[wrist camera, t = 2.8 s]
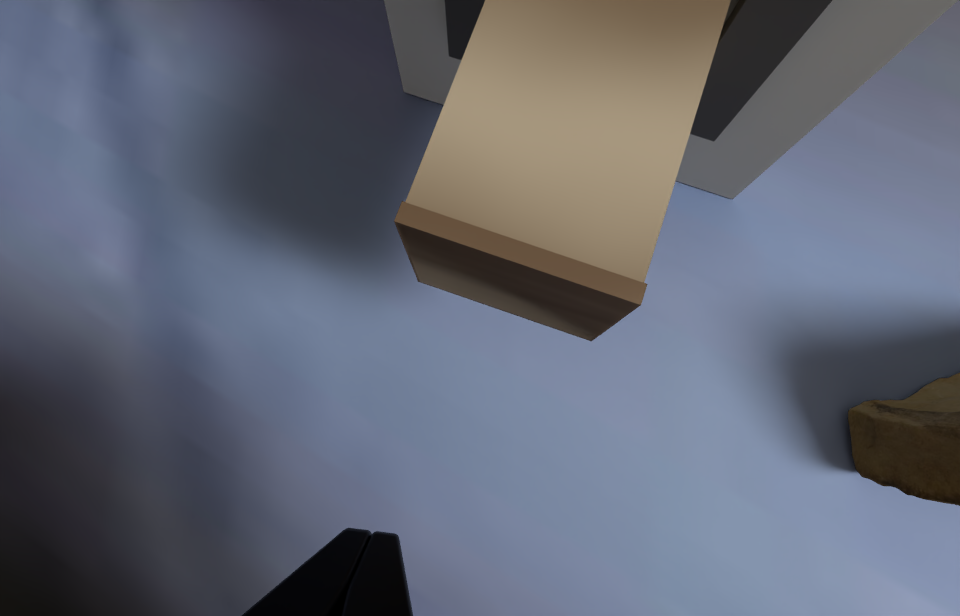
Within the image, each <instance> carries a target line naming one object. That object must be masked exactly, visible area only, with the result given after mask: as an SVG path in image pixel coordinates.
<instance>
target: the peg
mask: <svg viewBox="0 0 960 616" xmlns="http://www.w3.org/2000/svg"><path fill="white" fill-rule="evenodd" d="M730 1H731V0H485V2H484V5H483V7H482V10H481V12H480V15H479V17H478V20H477V22H476V25H475V28H474V30H473V33H472V35H471V38H470V40H469V43H468V45H467V48H466V50H465V53H464V55H463V58H462V60H461V63H460V65H459V68H458V70H457V73H456V75H455V78H454V81H453V83H452V86H451V88H450V91H449V93H448V96H447V98H446V101H445V103H444V106H443V108H442V111H441V113H440V116H439V118H438V121H437V123H436V126H435V129H434V131H433V134H432V136H431V139H430V141H429V144H428V146H427V149H426V151H425V154H424V156H423V159H422V161H421V164H420V166H419V169H418V171H417V174H416V176H415V179H414V182H413V184H412V187H411V189H410V192H409V194H408V197H407V199H406V202H403V201H402V203H401V205H400V208H399V210H398V213H397V215H396V218H395V220H394V222H395V225H396V227H397V230H398V232H399V235H400V237H401V240H402V242H403V245H404V247H405V250H406V252H407V255H408V257H409V260H410V262H411V265H412V267H413V270H414V272H415V275H416V277H417V280H418V282H421V283H424V284H427V285H430V286H433V287H436V288H439V289H442V290H444V291H447V292H450V293H453V294H456V295H459V296H462V297H465V298H468V299H470V300H473V301H476V302H479V303H482V304H485V305H488V306H491V307H494V308H497V309H499V310H502V311H505V312H508V313H511V314H514V315H517V316H520V317H523V318H526V319H528V320H531V321H534V322H537V323H540V324H543V325H546V326H549V327H552V328H554V329H557V330H560V331H563V332H566V333H569V334H572V335H575V336H578V337H581V338H583V339H586V340H589V341H592V340H594V339H595V338H597V337H598V336H599V335H601V334H602V333H603V332H605V331H606V330H607V329H609V328H610V327H612V326H613V325H614V324H616V323H617V322H618V321H620V320H621V319H622V318H624V317H625V316H627V315H628V314H629V313H631V312H632V311H633V310H635V309H636V308H637V307H639V306H640V305H641V303H642V300H643V296H644V293H645V290H646V287H647V284H646V283H644V281H645V278H646V275H647V272H648V268H649V265H650V262H651V259H652V255H653V252H654V249H655V246H656V242H657V239H658V236H659V233H660V229H661V226H662V223H663V219H664V216H665V213H666V210H667V206H668V203H669V200H670V197H671V193H672V190H673V187H674V184H675V180H676V177H677V174H678V171H679V167H680V164H681V161H682V158H683V154H684V151H685V148H686V145H687V141H688V138H689V135H690V132H691V128H692V125H693V122H694V118H695V115H696V112H697V109H698V105H699V102H700V99H701V96H702V92H703V89H704V86H705V83H706V79H707V76H708V73H709V70H710V66H711V63H712V60H713V57H714V53H715V50H716V47H717V44H718V40H719V37H720V34H721V30H722V27H723V24H724V21H725V17H726V14H727V11H728V8H729V4H730Z"/></svg>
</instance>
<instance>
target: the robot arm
mask: <svg viewBox="0 0 960 616" xmlns="http://www.w3.org/2000/svg"><path fill="white" fill-rule="evenodd" d="M242 616H413V612H412V607H411V601H410V596H409V590H408V585H407V579H406V574H405V568H404V563H403V557H402V552H401V546H400V541H399V537H398V535H397V534H394V533H386V532H379V531H376V532H374V533H373V534H371V532H370V531H369V530H362V529H354V528H347V529H345V530H343V531H342V532H341V533H340V534H338V535H337V536H336V537H335V538H334V539H332V540H331V541H330V542H329V543H328V544H326V545H325V546H324V547H323V548H322V549H321V550H319V551H318V552H317V553H316V554H315V555H313V556H312V557H311V558H310V559H309V560H307V561H306V562H305V563H304V564H303V565H301V566H300V567H299V568H298V569H297V570H295V571H294V572H293V573H292V574H291V575H289V576H288V577H287V578H286V579H285V580H283V581H282V582H281V583H280V584H279V585H277V586H276V587H275V588H274V589H273V590H272V591H270V592H269V593H268V594H267V595H266V596H264V597H263V598H262V599H261V600H260V601H258V602H257V603H256V604H255V605H254V606H252V607H251V608H250V609H249V610H248V611H246V612H245V613H244V614H243V615H242Z"/></svg>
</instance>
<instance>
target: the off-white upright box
mask: <svg viewBox="0 0 960 616" xmlns="http://www.w3.org/2000/svg"><path fill="white" fill-rule="evenodd" d="M957 1H958V0H731V1H730V4H729V8H728V11H727V14H726V17H725V21H724V24H723V27H722V30H721V34H720V37H719V40H718V44H717V47H716V50H715V53H714V57H713V60H712V63H711V66H710V70H709V73H708V76H707V79H706V83H705V86H704V89H703V92H702V96H701V99H700V102H699V105H698V109H697V112H696V115H695V118H694V122H693V125H692V128H691V132H690V135H689V138H688V141H687V145H686V148H685V151H684V154H683V158H682V161H681V164H680V167H679V171H678V174H677V177H676V180H675V181H678V182H681V183H684V184H687V185H690V186H693V187H696V188H699V189H702V190H705V191H709V192H712V193H715V194H718V195H721V196H724V197H727V198H730V199H734V198H735V197H736V196H737V195H738V194H739V193H740V192H742V191H743V190H744V189H745V188H746V187H747V186H748V185H750V184H751V183H752V182H753V181H754V180H755V179H756V178H757V177H759V176H760V175H761V174H762V173H763V172H764V171H765V170H767V169H768V168H769V167H770V166H771V165H772V164H773V163H774V162H776V161H777V160H778V159H779V158H780V157H781V156H782V155H784V154H785V153H786V152H787V151H788V150H789V149H790V148H791V147H793V146H794V145H795V144H796V143H797V142H798V141H799V140H801V139H802V138H803V137H804V136H805V135H806V134H807V133H808V132H810V131H811V130H812V129H813V128H814V127H815V126H816V125H818V124H819V123H820V122H821V121H822V120H823V119H824V118H825V117H827V116H828V115H829V114H830V113H831V112H832V111H833V110H835V109H836V108H837V107H838V106H839V105H840V104H841V103H842V102H844V101H845V100H846V99H847V98H848V97H849V96H850V95H852V94H853V93H854V92H855V91H856V90H857V89H858V88H859V87H861V86H862V85H863V84H864V83H865V82H866V81H867V80H869V79H870V78H871V77H872V76H873V75H874V74H875V73H876V72H878V71H879V70H880V69H881V68H882V67H883V66H884V65H886V64H887V63H888V62H889V61H890V60H891V59H892V58H893V57H895V56H896V55H897V54H898V53H899V52H900V51H901V50H903V49H904V48H905V47H906V46H907V45H908V44H909V43H910V42H912V41H913V40H914V39H915V38H916V37H917V36H918V35H920V34H921V33H922V32H923V31H924V30H925V29H926V28H927V27H929V26H930V25H931V24H932V23H933V22H934V21H935V20H937V19H938V18H939V17H940V16H941V15H942V14H943V13H944V12H946V11H947V10H948V9H949V8H950V7H951V6H952V5H954V4H955V3H956V2H957ZM484 2H485V0H384V3H385V8H386V12H387V17H388V22H389V26H390V31H391V36H392V40H393V45H394V49H395V54H396V59H397V63H398V68H399V73H400V77H401V82H402V86H403V91H404V92H406V93H409V94H412V95H415V96H418V97H421V98H424V99H427V100H430V101H433V102H436V103H439V104H442V105H444V103H445V101H446V98H447V96H448V93H449V91H450V88H451V86H452V83H453V81H454V78H455V75H456V73H457V70H458V68H459V65H460V63H461V60H462V58H463V55H464V53H465V50H466V48H467V45H468V43H469V40H470V38H471V35H472V33H473V30H474V28H475V25H476V22H477V20H478V17H479V15H480V12H481V10H482V7H483V5H484Z"/></svg>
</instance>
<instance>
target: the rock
mask: <svg viewBox="0 0 960 616" xmlns="http://www.w3.org/2000/svg"><path fill="white" fill-rule="evenodd" d="M848 422H849V427H850V434H851V445H852V456H853V459H854V463H855V468H856V470H857V471H858V472H859V474H860V475H861V476H862V477H864V478H868V479H870V480H872V481H874V482H876V483H878V484H880V485H882V486H892V487H896V488H898V489H899V490H901V491H902V492H904V493H905V494H907V495H912V496H916V497H919V498H922V499H926V500H932V501H937V502H942V503H949V504H955V505H959V506H960V373H958V374H955V375H953V376H951V377H949V378H939V379H937V380H935V381H933V382H931V383H929V384H927V385H926V386H924V387H923V388H921V389H920V390H919V391H918V392H917V393H915V394H913V395H912V396H910V397H908V398H906V399H904V400H883V401H880V400H871V401H865V402H863V403H861V404H860V405H858V406H855V407H853V408H850V410H849V411H848Z"/></svg>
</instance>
